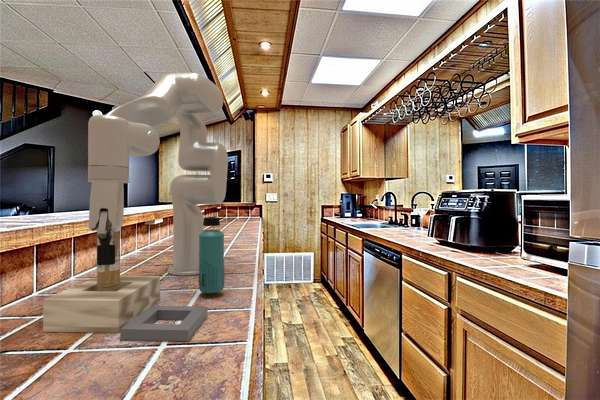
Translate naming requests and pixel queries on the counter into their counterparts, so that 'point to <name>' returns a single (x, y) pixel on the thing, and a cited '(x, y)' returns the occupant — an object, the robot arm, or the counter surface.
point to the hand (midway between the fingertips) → (108, 261)
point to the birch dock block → (100, 305)
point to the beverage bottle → (211, 258)
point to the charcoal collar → (148, 331)
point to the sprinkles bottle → (110, 273)
